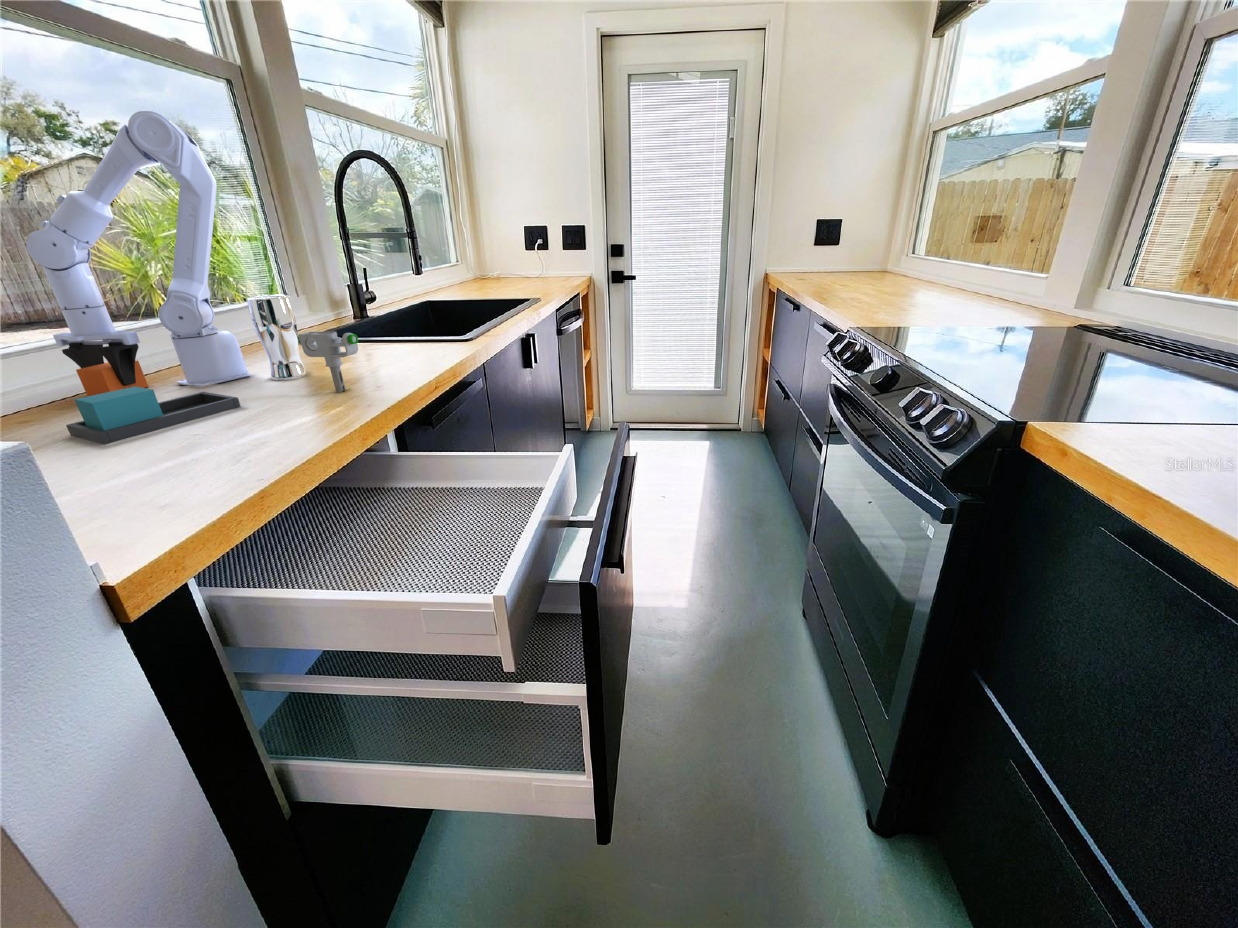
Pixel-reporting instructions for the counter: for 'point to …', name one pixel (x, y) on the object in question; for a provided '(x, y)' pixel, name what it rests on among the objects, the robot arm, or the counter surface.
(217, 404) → the tray
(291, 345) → the beer glass
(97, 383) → the orange block
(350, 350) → the mechanical component
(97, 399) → the teal rectangular block
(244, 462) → the counter surface
